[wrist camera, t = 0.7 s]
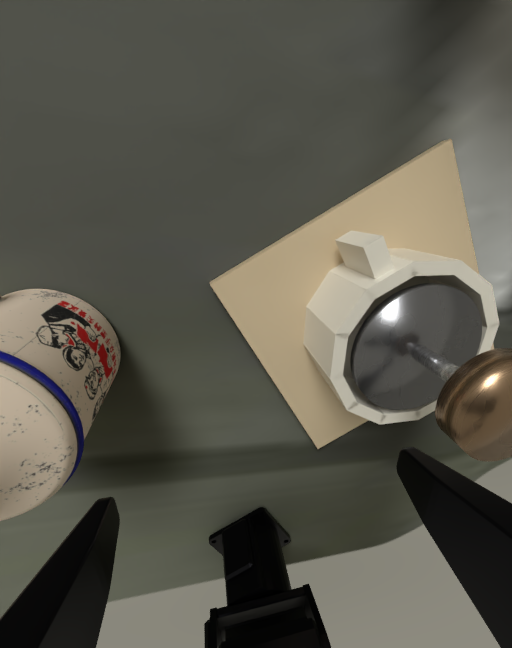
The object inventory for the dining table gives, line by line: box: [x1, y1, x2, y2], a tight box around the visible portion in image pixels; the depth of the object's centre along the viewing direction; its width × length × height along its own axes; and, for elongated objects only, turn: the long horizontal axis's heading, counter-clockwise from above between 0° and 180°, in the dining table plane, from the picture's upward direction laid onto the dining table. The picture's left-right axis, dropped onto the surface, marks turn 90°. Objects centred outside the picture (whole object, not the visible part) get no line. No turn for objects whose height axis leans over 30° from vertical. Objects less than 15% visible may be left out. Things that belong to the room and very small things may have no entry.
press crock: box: [210, 139, 499, 449], centre depth 21 cm, size 18×18×6 cm
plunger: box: [350, 283, 512, 461], centre depth 15 cm, size 8×8×6 cm
